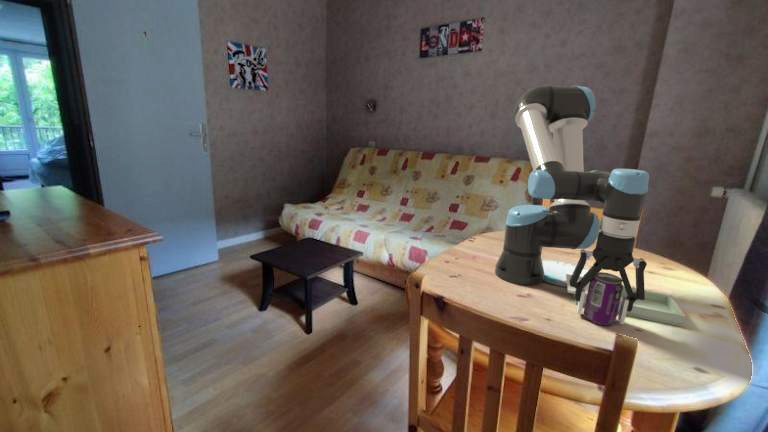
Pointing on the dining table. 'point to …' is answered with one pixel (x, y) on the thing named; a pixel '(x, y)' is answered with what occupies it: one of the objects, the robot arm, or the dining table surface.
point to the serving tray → (654, 308)
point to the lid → (573, 290)
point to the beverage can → (603, 298)
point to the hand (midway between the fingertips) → (599, 316)
